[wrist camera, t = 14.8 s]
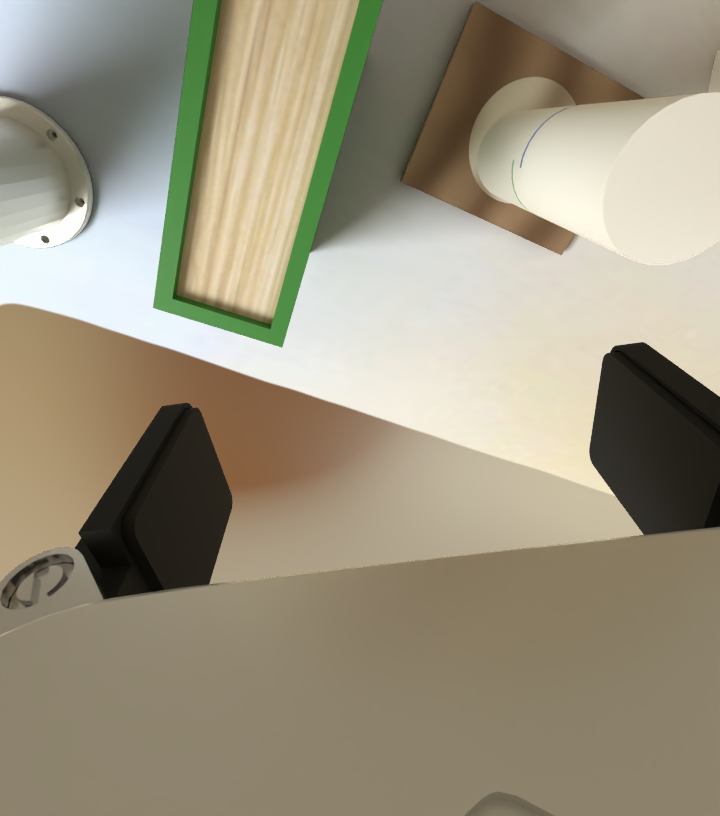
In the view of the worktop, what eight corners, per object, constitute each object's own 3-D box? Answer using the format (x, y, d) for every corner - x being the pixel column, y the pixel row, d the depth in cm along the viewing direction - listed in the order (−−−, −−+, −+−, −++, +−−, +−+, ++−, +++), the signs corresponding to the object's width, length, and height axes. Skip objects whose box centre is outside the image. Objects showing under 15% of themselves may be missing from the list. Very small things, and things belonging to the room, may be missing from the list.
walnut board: (400, 180, 45) (401, 182, 44) (472, 4, 38) (476, 1, 37) (556, 252, 49) (561, 255, 47) (646, 104, 42) (654, 103, 41)
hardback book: (283, 12, 38) (209, -120, 18) (368, 51, 39) (392, -31, 19) (238, 227, 47) (153, 307, 26) (309, 252, 48) (282, 347, 27)
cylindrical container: (569, 122, 41) (804, 118, 20) (535, 207, 45) (703, 280, 24) (494, 100, 40) (656, 70, 19) (465, 188, 44) (575, 246, 23)
